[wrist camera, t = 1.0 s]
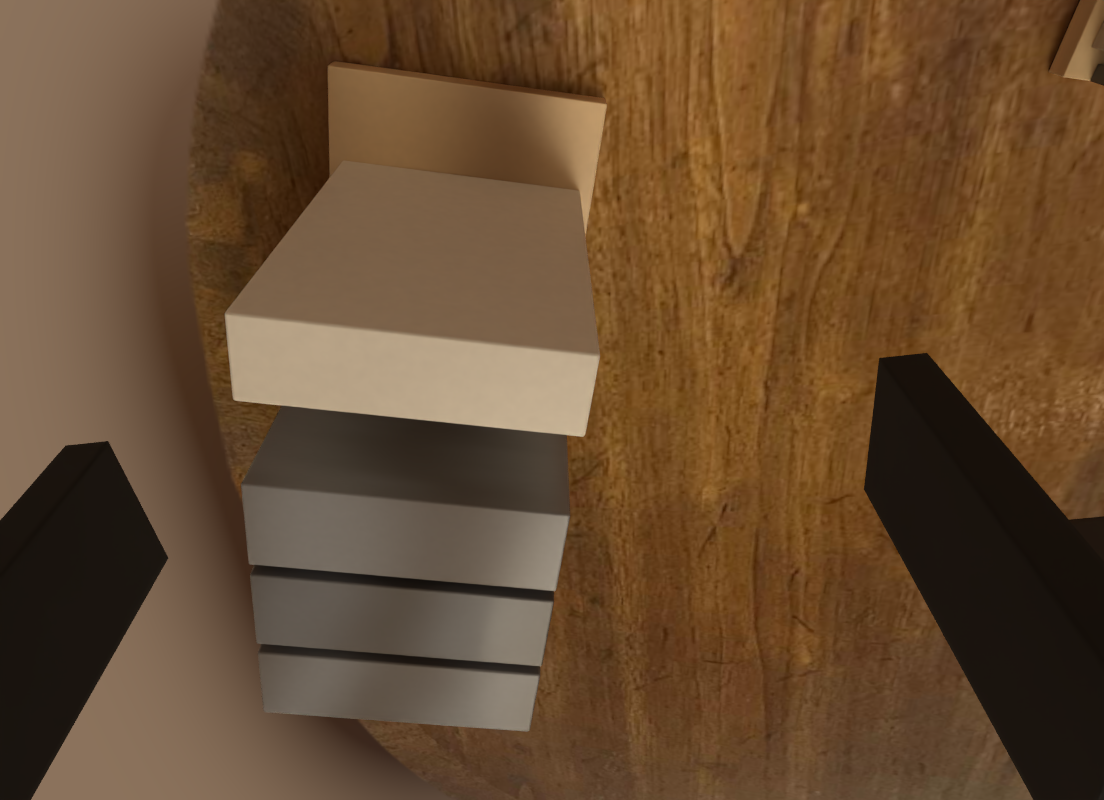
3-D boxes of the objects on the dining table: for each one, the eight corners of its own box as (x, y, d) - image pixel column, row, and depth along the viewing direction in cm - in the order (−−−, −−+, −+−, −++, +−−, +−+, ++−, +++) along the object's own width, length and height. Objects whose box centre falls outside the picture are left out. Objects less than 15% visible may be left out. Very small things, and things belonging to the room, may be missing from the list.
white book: (342, 223, 31) (231, 401, 20) (342, 159, 30) (222, 312, 19) (571, 251, 32) (585, 437, 21) (580, 190, 30) (600, 354, 19)
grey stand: (339, 474, 39) (249, 726, 27) (333, 60, 29) (185, 172, 17) (542, 493, 39) (541, 748, 28) (605, 97, 29) (646, 230, 18)
